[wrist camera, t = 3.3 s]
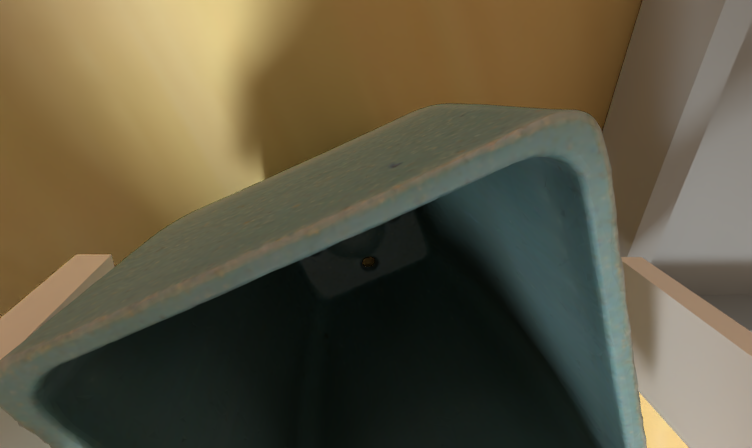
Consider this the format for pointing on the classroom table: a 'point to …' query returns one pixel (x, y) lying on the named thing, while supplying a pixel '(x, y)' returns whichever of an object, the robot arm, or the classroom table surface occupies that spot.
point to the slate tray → (687, 148)
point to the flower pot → (363, 305)
